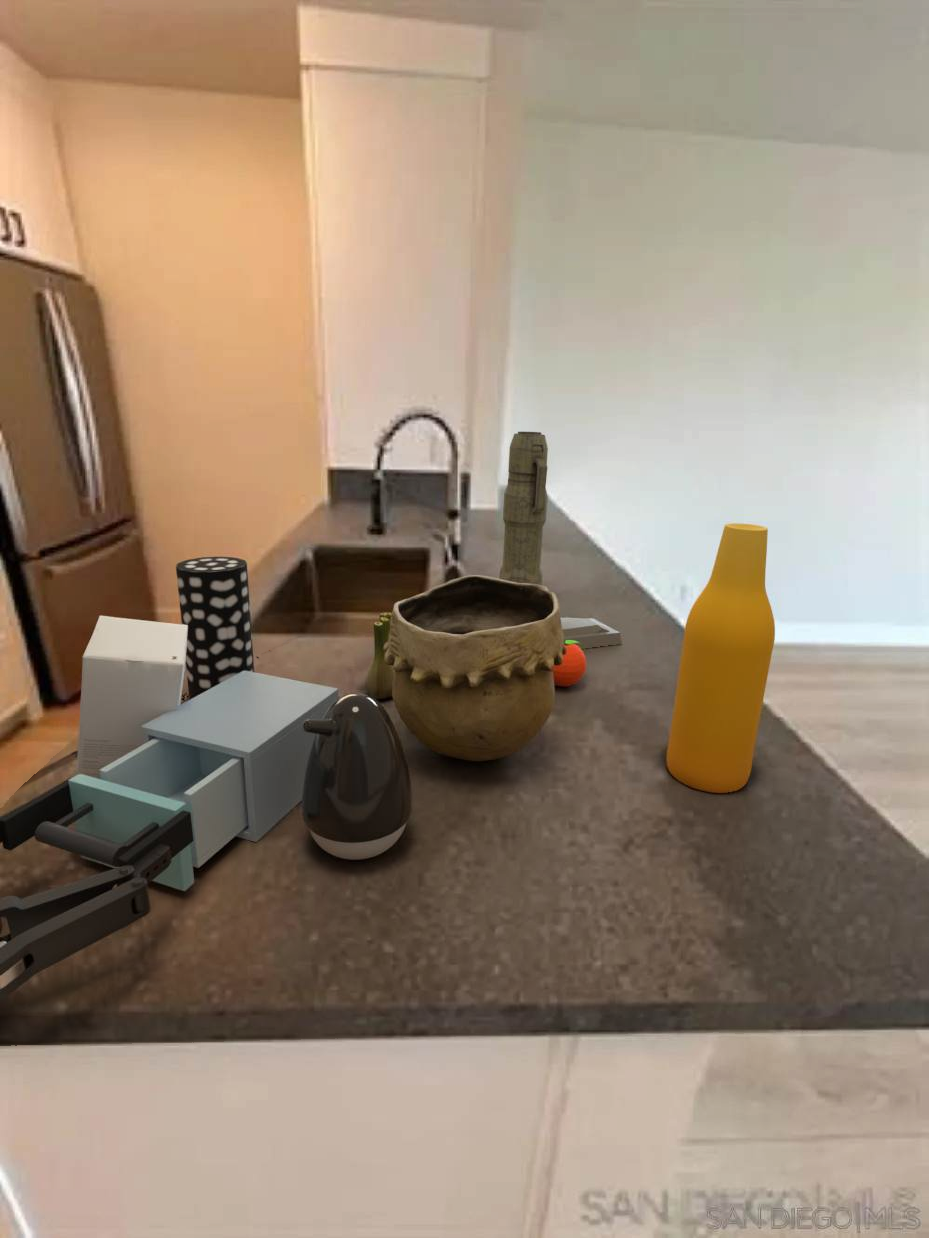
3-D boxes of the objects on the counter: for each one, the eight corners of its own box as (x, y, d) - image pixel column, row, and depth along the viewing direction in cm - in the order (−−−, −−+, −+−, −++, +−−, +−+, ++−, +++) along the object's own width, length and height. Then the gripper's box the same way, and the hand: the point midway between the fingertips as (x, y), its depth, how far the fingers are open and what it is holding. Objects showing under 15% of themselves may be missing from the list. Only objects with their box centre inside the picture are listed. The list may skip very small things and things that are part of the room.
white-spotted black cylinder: (239, 727, 85) (227, 574, 79) (178, 720, 87) (161, 569, 80) (267, 700, 93) (258, 559, 87) (211, 694, 94) (198, 554, 88)
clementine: (568, 671, 107) (572, 629, 105) (598, 687, 102) (603, 642, 99) (528, 680, 103) (531, 637, 101) (558, 697, 97) (562, 651, 95)
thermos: (519, 613, 136) (531, 433, 125) (486, 598, 145) (494, 430, 135) (553, 607, 141) (566, 434, 130) (518, 593, 150) (528, 430, 139)
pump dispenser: (281, 839, 64) (272, 693, 59) (369, 798, 71) (367, 665, 66) (343, 895, 57) (338, 734, 53) (433, 843, 64) (437, 698, 60)
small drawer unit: (256, 842, 64) (249, 752, 61) (151, 812, 68) (140, 726, 65) (340, 764, 78) (338, 688, 75) (249, 743, 82) (244, 670, 79)
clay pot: (477, 823, 68) (485, 636, 61) (348, 747, 81) (344, 588, 75) (592, 753, 82) (609, 596, 76) (466, 699, 96) (472, 562, 90)
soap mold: (622, 644, 120) (624, 625, 119) (522, 656, 113) (523, 636, 112) (590, 626, 129) (592, 609, 128) (496, 637, 122) (497, 618, 121)
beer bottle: (746, 762, 81) (790, 523, 72) (750, 802, 73) (799, 538, 64) (667, 747, 84) (700, 516, 75) (662, 784, 76) (698, 529, 67)
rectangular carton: (176, 734, 79) (191, 623, 74) (169, 785, 72) (186, 664, 66) (89, 729, 76) (98, 612, 70) (72, 781, 68) (81, 655, 63)
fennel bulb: (381, 706, 93) (380, 623, 89) (355, 696, 95) (354, 616, 92) (409, 693, 97) (409, 614, 93) (384, 684, 100) (383, 607, 96)
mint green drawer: (139, 932, 51) (127, 845, 49) (30, 892, 55) (14, 810, 53) (286, 800, 69) (282, 732, 66) (196, 777, 72) (189, 711, 70)
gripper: (-289, 1003, 42) (33, 813, 61) (-18, 1153, 34) (251, 882, 54) (-329, 905, 40) (19, 740, 59) (-48, 1042, 32) (245, 801, 51)
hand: (130, 808), depth 56 cm, fingers closed on mint green drawer, 11 cm apart
